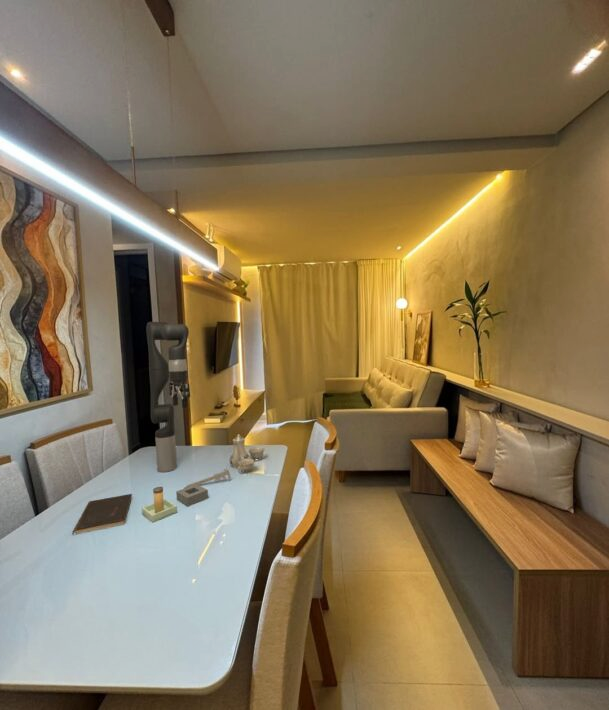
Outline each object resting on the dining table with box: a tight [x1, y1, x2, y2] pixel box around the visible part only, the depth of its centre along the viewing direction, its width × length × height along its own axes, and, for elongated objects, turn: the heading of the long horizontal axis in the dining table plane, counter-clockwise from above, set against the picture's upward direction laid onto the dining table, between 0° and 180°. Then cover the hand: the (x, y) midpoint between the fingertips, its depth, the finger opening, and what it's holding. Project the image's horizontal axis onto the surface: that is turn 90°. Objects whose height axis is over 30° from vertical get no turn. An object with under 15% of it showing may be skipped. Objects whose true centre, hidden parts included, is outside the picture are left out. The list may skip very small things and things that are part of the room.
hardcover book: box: [72, 493, 133, 535], centre depth 131 cm, size 16×23×2 cm
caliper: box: [182, 467, 231, 489], centre depth 155 cm, size 20×1×6 cm, turn 110°
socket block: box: [175, 484, 209, 507], centre depth 141 cm, size 9×9×4 cm
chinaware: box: [228, 433, 265, 474], centre depth 176 cm, size 28×17×17 cm, turn 176°
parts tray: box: [141, 498, 178, 523], centre depth 130 cm, size 9×9×2 cm
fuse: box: [152, 486, 164, 514], centre depth 130 cm, size 3×3×9 cm
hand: (180, 406), depth 151 cm, fingers open, 8 cm apart
